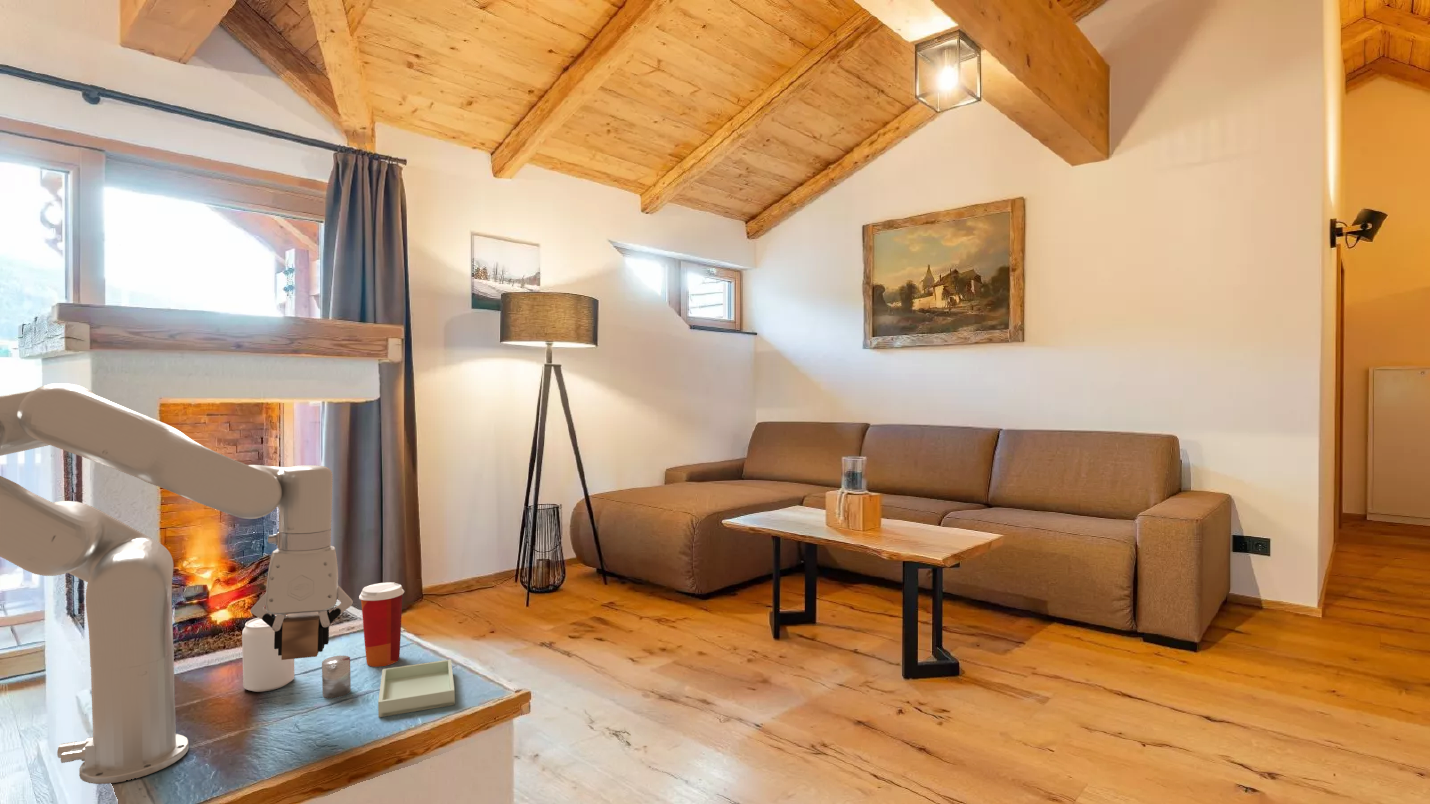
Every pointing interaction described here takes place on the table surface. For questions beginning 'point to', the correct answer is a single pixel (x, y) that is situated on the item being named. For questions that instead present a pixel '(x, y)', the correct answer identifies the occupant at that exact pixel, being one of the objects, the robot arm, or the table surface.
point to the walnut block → (300, 635)
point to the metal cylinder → (336, 677)
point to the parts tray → (416, 688)
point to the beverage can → (263, 659)
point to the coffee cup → (382, 622)
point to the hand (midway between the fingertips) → (301, 649)
